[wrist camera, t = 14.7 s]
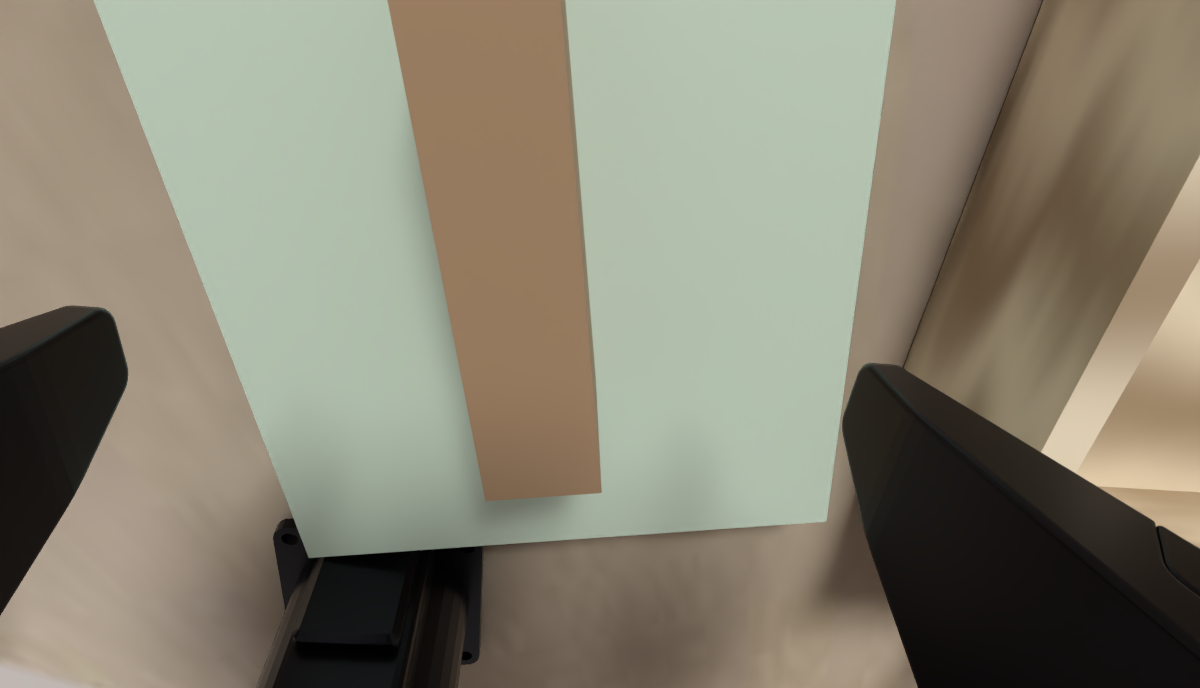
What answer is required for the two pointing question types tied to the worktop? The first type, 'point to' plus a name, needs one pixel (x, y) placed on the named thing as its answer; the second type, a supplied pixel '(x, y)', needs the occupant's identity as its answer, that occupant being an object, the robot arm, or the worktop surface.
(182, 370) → the worktop surface
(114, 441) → the worktop surface
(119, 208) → the worktop surface
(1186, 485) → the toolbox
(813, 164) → the lid
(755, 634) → the worktop surface
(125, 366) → the robot arm
